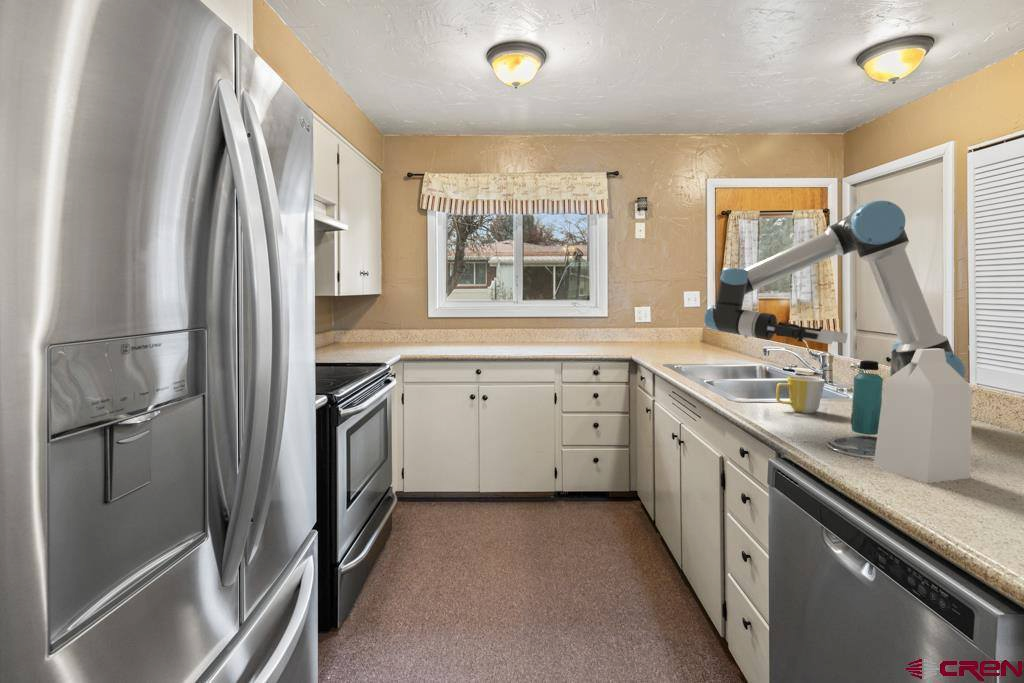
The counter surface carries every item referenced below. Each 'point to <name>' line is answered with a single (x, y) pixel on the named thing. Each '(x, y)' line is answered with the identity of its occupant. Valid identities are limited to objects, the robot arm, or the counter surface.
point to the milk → (926, 421)
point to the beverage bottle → (867, 400)
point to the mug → (803, 393)
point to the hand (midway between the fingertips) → (839, 338)
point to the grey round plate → (853, 446)
